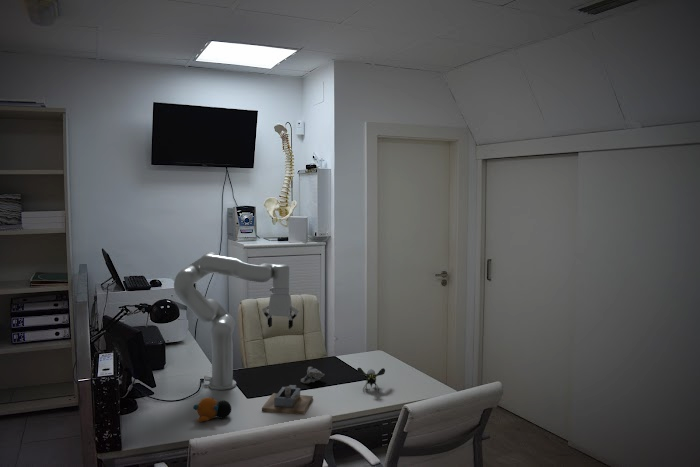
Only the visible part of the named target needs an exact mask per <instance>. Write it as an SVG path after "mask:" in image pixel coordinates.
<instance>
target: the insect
mask: <svg viewBox="0 0 700 467" xmlns="http://www.w3.org/2000/svg"><path fill="white" fill-rule="evenodd" d="M356 372H357V374H359V375H363V376H365V383H366V384H365V385H363V391H362V392H363V393H364V391H365V389H367V387H368V385H370V388H372V387H373V385H374V388H375V389H377V388H378V389H377V391H378V393H379V390H380V389H379V386H378V385H377V377H378V376H383V375H384V374H385V372H386V369H385V368H384V367H382V368H381V369H380V370H379V371H378V372H377V373H376V371H375V370H374V369H372V368H370V369H368V370H367V372H365V371H364V370H363V369H362V368H361V367H358V368H356Z"/></svg>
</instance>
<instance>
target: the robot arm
mask: <svg viewBox="0 0 700 467" xmlns="http://www.w3.org/2000/svg"><path fill="white" fill-rule="evenodd" d="M210 274H215V275H221V276H228V277H232V278H233V277H234V278H235V279H240V280H245V281H250V282H256V283H267V282H269V281H270V280H271V279H272V287H270V288H269V291H270V292H271V293H270V295H269V296H270V297H269V302H268V305H267V306H265V307H263V308H261V310H262V312H263V314H264V316H265V317H266V319H267V326H268V328H271V327H272V326H273V317H286V318H288V329H289V330H290V329H291V328H293V326H294V319H295V318H296V317H297V316H298V315H299V311H300V310H299V309H296V308H295V307H293V305H292V297H291V294H290V266H289V265H288V264H282V263H281V264H279V263H278V264H275V263H274V264H273V263H268V262H265V263H264V262H263V263H261V264H259V265H258V264H250V263H246V262H244V261H241V260H240V259H239V258H236V257H231V256H230V257H229V256H225V255H219V254H218V253H216V252H212V251H211V252H206V253H205V254H203V255H202V256H201V257H200V258H198V259H197V260H195V261H194V262H192V263H190V264H189V265H188V266H185V267H184V268H183V269H181V270H179V272H178V273H177V274H176V276H175V278H174V282H173V288H174V291H175V292H174V293H175V294H176V297H177V298H179V300H180V301H181V302H182V303H183V304H184V305H185V306H186V307H187V308H188V310H189V311H191V312H192V313H193V314H194V316H195V317H196V318H197V319H198V320H199V321H200V322H202V323H205V324H206V323H210V324H211V326H212V327H211V329H210V340H211V342H210V343H211V375H204V376H203V379H204V381H205V382H208V387H209V389H211V390H216V391H225V390H230V389H233V388H235V387H236V385H237V381H236V380H235V379H234V376H233V375H234V369H233V367H234V364H233V363H234V356H233V355H234V353H233V352H234V349H233V347H234V346H233V333H234V330H235V327H236V320H235V318H234V317H233V316H232V315H231V314H230V313H229V311H227V309H225V308H224V306H222V304H220V303H219V302H218V301H217V300H216V299H213V298H206V297H205V296H204V295H203V294H202V292H200V291H199V290H197V289H196V288H195V286H194V285H195V284H196V283H197V282H199V281H201V279H203V278H204V277H205V276H207V275H210ZM267 310H268V312H267ZM293 312H294V314H293V315H292V313H293ZM272 316H273V317H272Z"/></svg>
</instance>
